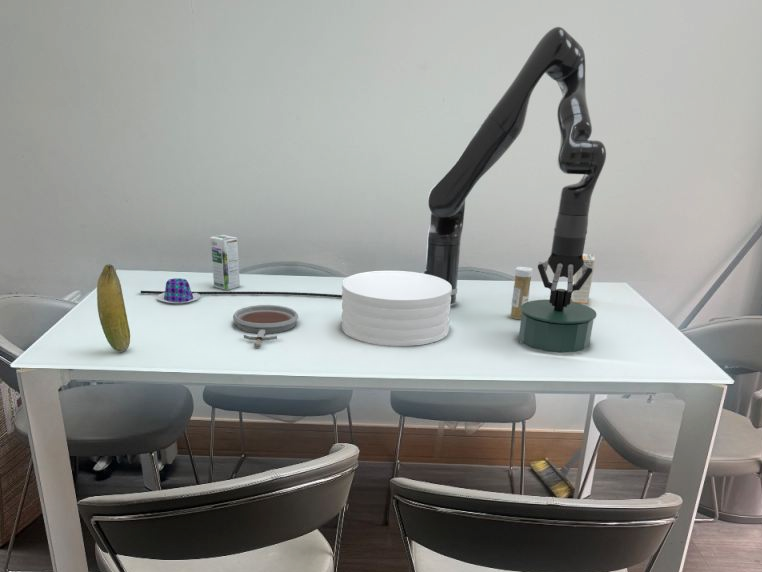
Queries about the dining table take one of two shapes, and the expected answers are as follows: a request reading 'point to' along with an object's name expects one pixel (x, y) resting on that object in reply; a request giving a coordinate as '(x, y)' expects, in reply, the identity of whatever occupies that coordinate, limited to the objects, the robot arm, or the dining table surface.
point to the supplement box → (584, 291)
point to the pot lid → (558, 310)
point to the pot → (554, 335)
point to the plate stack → (396, 307)
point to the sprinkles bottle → (520, 290)
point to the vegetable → (112, 309)
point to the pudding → (178, 292)
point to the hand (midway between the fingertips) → (559, 305)
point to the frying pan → (265, 321)
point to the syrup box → (225, 262)
